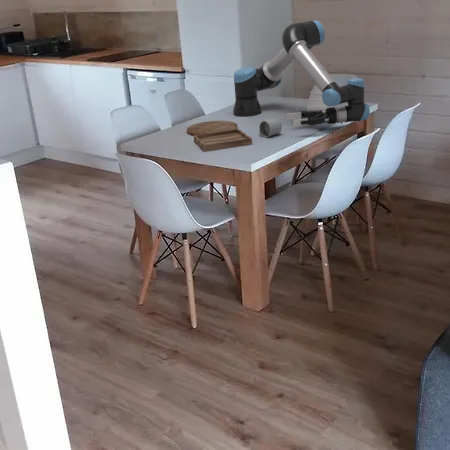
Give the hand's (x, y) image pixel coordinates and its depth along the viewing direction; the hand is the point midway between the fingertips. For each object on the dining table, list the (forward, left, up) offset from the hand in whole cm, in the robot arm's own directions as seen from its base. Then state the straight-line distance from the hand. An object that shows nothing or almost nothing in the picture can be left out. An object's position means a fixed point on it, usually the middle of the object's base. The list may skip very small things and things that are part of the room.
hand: (290, 119), depth 290 cm
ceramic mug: (-3, -10, -6) cm, 12 cm away
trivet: (-28, -31, -7) cm, 42 cm away
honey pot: (-27, +26, -6) cm, 38 cm away
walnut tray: (-2, -33, -6) cm, 33 cm away
